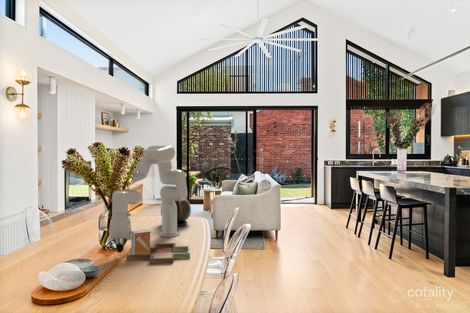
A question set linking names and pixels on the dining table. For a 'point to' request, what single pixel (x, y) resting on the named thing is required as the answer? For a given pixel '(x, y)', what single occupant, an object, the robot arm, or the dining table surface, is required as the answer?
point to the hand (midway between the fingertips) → (120, 251)
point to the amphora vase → (182, 212)
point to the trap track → (162, 248)
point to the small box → (140, 242)
